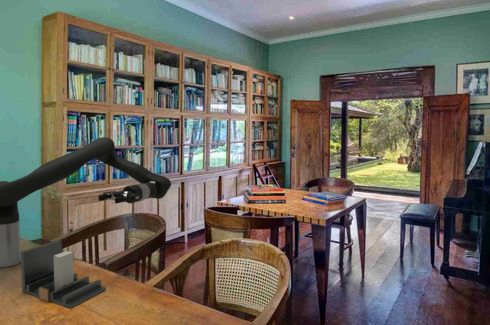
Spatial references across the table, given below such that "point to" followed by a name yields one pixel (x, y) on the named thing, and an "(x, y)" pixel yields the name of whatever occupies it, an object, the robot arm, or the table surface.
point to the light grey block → (63, 269)
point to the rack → (42, 278)
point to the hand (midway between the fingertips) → (107, 199)
